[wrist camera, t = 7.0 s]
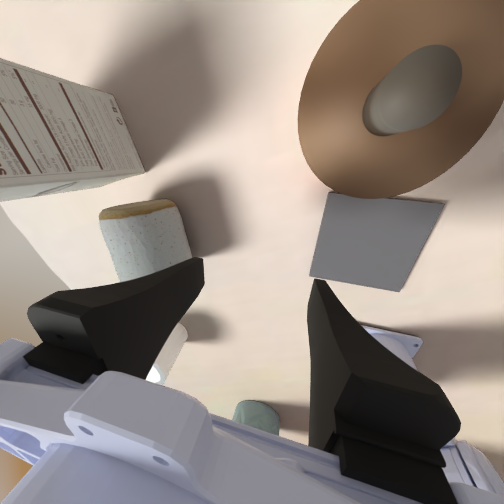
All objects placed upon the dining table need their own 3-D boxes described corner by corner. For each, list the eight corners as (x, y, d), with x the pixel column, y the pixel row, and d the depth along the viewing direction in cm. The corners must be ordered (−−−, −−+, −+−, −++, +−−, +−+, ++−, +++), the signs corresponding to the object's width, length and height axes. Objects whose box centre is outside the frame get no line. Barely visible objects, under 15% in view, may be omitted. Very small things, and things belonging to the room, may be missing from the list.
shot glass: (155, 308, 31) (118, 345, 25) (193, 325, 30) (166, 367, 24) (153, 334, 34) (121, 373, 28) (188, 350, 34) (163, 392, 28)
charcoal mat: (397, 289, 20) (399, 292, 20) (309, 274, 22) (309, 276, 21) (441, 203, 16) (444, 204, 16) (328, 192, 18) (329, 192, 17)
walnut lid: (440, 203, 13) (489, 220, 9) (288, 190, 15) (283, 199, 11) (558, -33, 8) (732, -163, 5) (314, -9, 10) (320, -91, 7)
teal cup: (282, 404, 34) (273, 513, 24) (284, 433, 38) (277, 537, 28) (229, 393, 37) (199, 487, 26) (236, 421, 41) (213, 512, 31)
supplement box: (101, 188, 23) (-81, 216, 12) (64, 117, 20) (-213, 70, 9) (148, 174, 21) (-21, 194, 10) (115, 92, 18) (-172, -6, 7)
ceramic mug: (188, 192, 21) (132, 209, 14) (206, 259, 24) (167, 298, 18) (115, 202, 24) (41, 219, 17) (140, 260, 27) (85, 293, 21)
